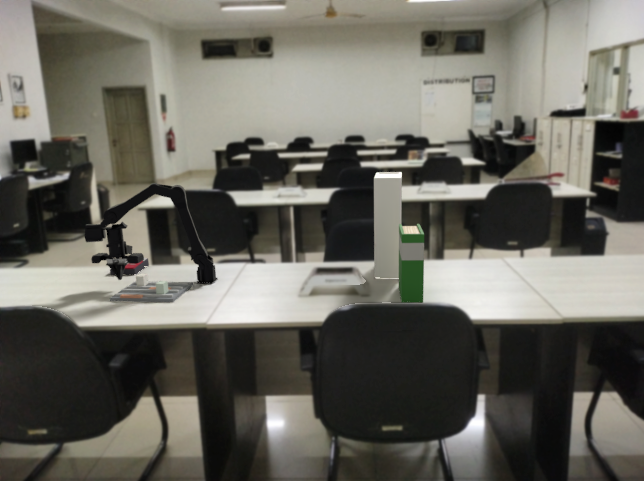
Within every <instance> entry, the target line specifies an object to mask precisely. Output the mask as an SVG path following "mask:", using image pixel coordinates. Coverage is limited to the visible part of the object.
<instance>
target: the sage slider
mask: <svg viewBox="0 0 644 481" xmlns="http://www.w3.org/2000/svg"><path fill="white" fill-rule="evenodd" d="M157 282H158V283H156V294H166V293H167V292H168V282H169V281H168V280H159V281H157Z"/></svg>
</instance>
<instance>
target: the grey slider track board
mask: <svg viewBox="0 0 644 481" xmlns="http://www.w3.org/2000/svg"><path fill="white" fill-rule="evenodd" d="M158 282H159V281H148V284H147V285H146V286H137V283H136V280H135V281H133V282H132V283H131V284H129V285H127V286H125V287H124V288H122V289H121V290H120V291H118V292H116V293H114V295H112V296H110V297H109V301H110V302H132V303H133V302H137V303H139V302H141V303H143V302H144V303H149V302H150V303H175V301H177V300H178V299H179V298H180V297H181V296H182V295H184V294H185V293H186V292H187V291H188V290H189V289H191V288H192V287H193V286H194V281H167V282H168V292H167V293H166V294H156V283H158Z"/></svg>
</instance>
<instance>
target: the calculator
mask: <svg viewBox="0 0 644 481" xmlns="http://www.w3.org/2000/svg"><path fill="white" fill-rule="evenodd" d="M144 266H148V267H149V266H150V262H149V258H147V257H144V260H143V261H141V262H139V263H137V264H130V263H127V264H126V266H125V269H124V273H123V274H127V275H126V276H135V275H134V274H136V275H137V274H139V273H140V272H142V271H143V270H145V269H146V268H145V267H144ZM142 269H143V270H142ZM141 270H142V271H141ZM139 271H140V272H139ZM138 272H139V273H138ZM109 274H110V275H111V276H116V275H115V274H114V272H113V271H112V270H111V268H109ZM129 274H131V275H129ZM132 274H133V275H132Z"/></svg>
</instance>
